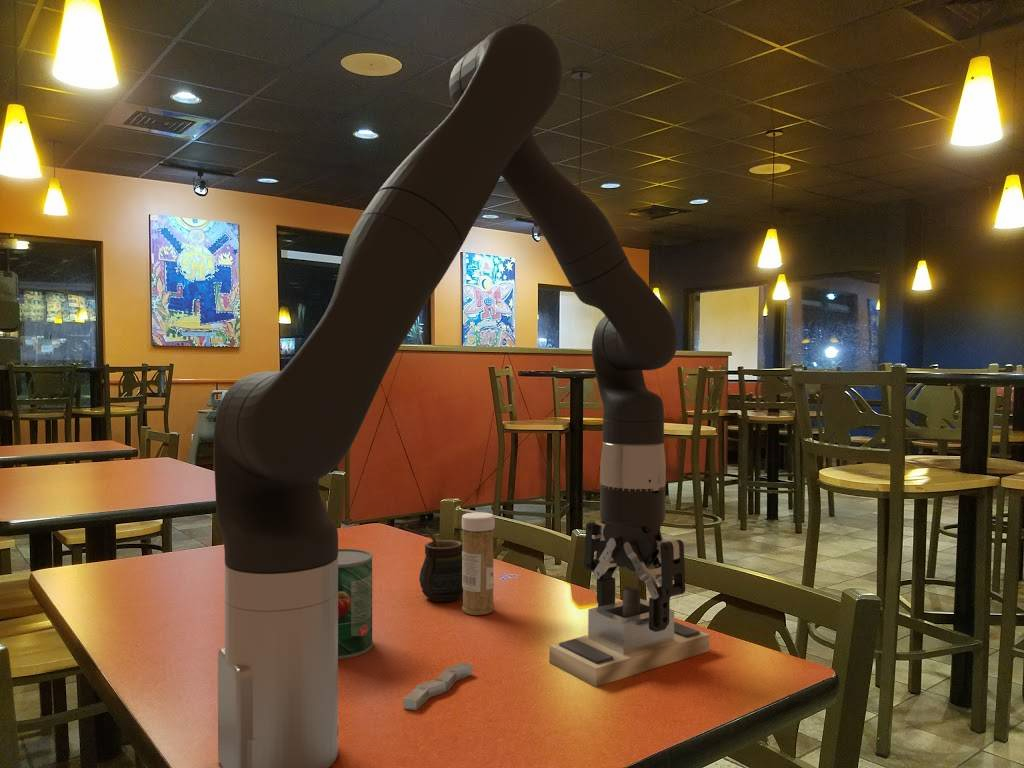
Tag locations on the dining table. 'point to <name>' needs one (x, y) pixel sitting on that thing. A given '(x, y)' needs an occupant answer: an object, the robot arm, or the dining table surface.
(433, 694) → the slack chain
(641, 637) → the link
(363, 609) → the canned tomato
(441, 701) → the dining table surface
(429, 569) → the mate gourd
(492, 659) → the dining table surface
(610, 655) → the beige holder base
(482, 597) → the spice jar
